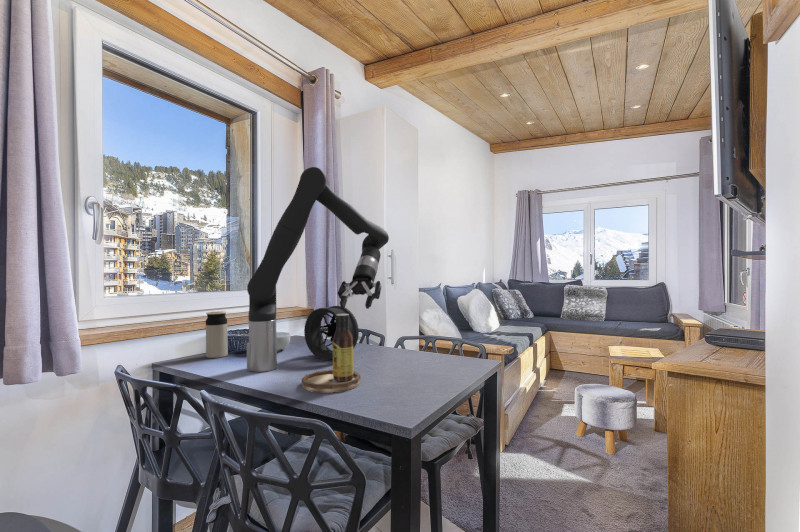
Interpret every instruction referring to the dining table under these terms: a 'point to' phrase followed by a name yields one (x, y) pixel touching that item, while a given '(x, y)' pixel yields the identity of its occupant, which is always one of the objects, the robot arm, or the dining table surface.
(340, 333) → the sauce bottle
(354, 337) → the wheel rim
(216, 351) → the travel mug
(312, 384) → the brown round tray
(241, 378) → the dining table surface
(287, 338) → the cereal bowl
